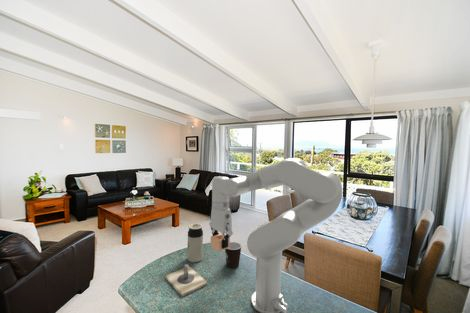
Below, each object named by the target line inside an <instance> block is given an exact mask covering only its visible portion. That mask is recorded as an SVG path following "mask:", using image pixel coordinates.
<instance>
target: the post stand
mask: <svg viewBox="0 0 470 313" xmlns="http://www.w3.org/2000/svg"><path fill="white" fill-rule="evenodd" d="M165 279H166V280H167V282H168V283H169V285H171V286H172V287H173V288H174V290H176V292H177V293H178V294H179V295H180V297H181V298H184V297H185V296H187V295H190V294H191V293H193V292H196V291H198V290H199V289H201V288H203V287H206V286H207V285H208V281H207V280H205V279H204V277H202V276H201V275H200V274H199V273H198V272H197V271H195V269H193V268H192V267H191V266H189V264H188V263H187V264H184V265H183V268H181V269H178V270H176V271H173V272H170V273H168V274H166V275H165Z"/></svg>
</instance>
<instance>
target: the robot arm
mask: <svg viewBox="0 0 470 313" xmlns="http://www.w3.org/2000/svg"><path fill="white" fill-rule="evenodd" d="M284 185H285V187H288V188H290V189H291V190H293V191H295V192H297V193H298V194H301V195H302V196H304V197H306V198H308V199H306V200H304V201H302V203H299V204H298V205H296V206H294V207H292V208H290V209H289V210H286V211H284V212H282V213H281V214H280V215H278V216H277V217H275V218H274V219H273V220H271V221H269V220H268V221H267V222H266V221H265V222H264V223H262V224H261V225H259V226H258V227H257V228H256V229H254V230H253V231H252V232H251V233H250V234H249V235H248V238H247V241H246V242H247V243H246V244H247V250H248V252H249V253H250V255H251V256H253V257H255V258H256V263H255V264H256V265H255V266H256V268H255V270H256V271H255V292H253V294H252V295H251V298H250V299H251V304H252V307H253V308H254V309H255V310H256V311H257V312H259V313H288V307H289V304H288V303H287V302H286V301H284V300H285V299H284V298H283V294H281V289H282V288H281V284H282V283H281V281H282V280H281V278H282V263H283V262H282V258H283V251H285V250H287V249H289V248H290V247H292V246H293V245H295V244H296V243H297V242H298V241H299V240H300V238H301V236H303V234H304V233H305V232H307V231H308V230H310V229H313V228H314V227H315V226H317V225H319V224H321V223H322V222H324V221H326V220H328V219H329V218H330V217H331V216H332V215H333V214H334V213H335V212H336V211H337V209H338V208H339V206H340V204H341V201H342V198H343V187H342V186H343V185H342V182H341V179H340V178H339V176H337V175H336V174H334V173H333V172H330V171H329V172H327V171H326V172H321V173H320V172H318V171H316V170H314V169H311V168H310V167H307V165H306V162H305V161H303V160H302V159H301V158H298V157H292V158H291V157H290V158H286V159H285V158H284V159H282V160H281V161H279V162H276V163H273V164H269V165H266V166H263V167H261V168H259V170H257V171H254V172H251V173H248V174H245V175H241V176H237V177H231V178H229V177H228V176H223V175H219V176H217V175H216V176H214V177H213V178H212V184H211V187H212V189H211V192H212V193H211V213H210V221H209V226H210V229H211V234H212V236H215V235H218V234H221V233H222V238H223V239H222V249H224V248H227V247H228V239H229V237H231V236H232V235H233V234H234V233H233V231H232V229H233V222H232V220H233V219H232V212H231V208H230V198H236V197H239V196H240V195H244V194H246V193H249V192H253V191H257V190H261V189H265V190H269V189H274V188H277V187H280V186H281V187H282V186H284Z"/></svg>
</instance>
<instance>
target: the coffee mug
mask: <svg viewBox="0 0 470 313" xmlns="http://www.w3.org/2000/svg"><path fill="white" fill-rule="evenodd" d="M241 252H242V244H241V243H239V242H236V241H230V248H227V249H225V250H224V253H225V264H226V267H227V268H228V269H229V268H230V269H236V268H238V267H239V266H240V259H241Z"/></svg>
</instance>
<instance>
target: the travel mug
mask: <svg viewBox="0 0 470 313" xmlns="http://www.w3.org/2000/svg"><path fill="white" fill-rule="evenodd" d="M203 243H204V230H203V224H202V223H191V224H189V225H188V231H187V261H188V262H191V263H198V262H200V261H202V260H203V257H204V256H203V255H204V254H203V251H204V250H203V249H204V244H203Z"/></svg>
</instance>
